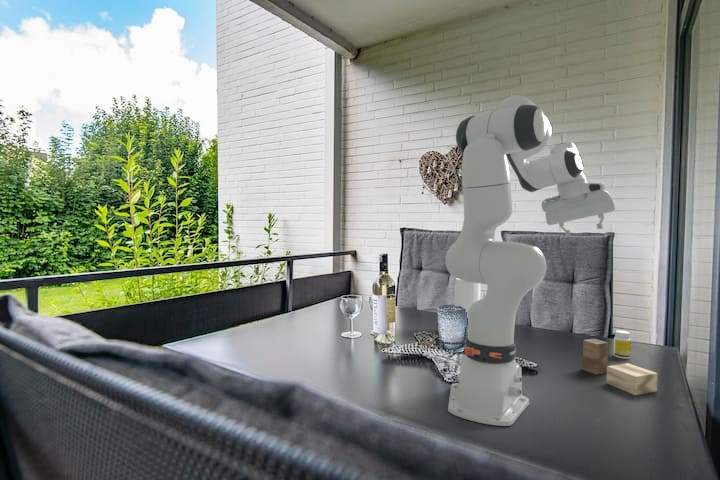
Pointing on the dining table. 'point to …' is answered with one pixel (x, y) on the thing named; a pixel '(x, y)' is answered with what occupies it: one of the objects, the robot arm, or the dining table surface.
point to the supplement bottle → (622, 344)
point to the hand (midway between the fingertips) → (583, 232)
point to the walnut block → (595, 356)
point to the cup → (466, 293)
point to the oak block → (632, 378)
